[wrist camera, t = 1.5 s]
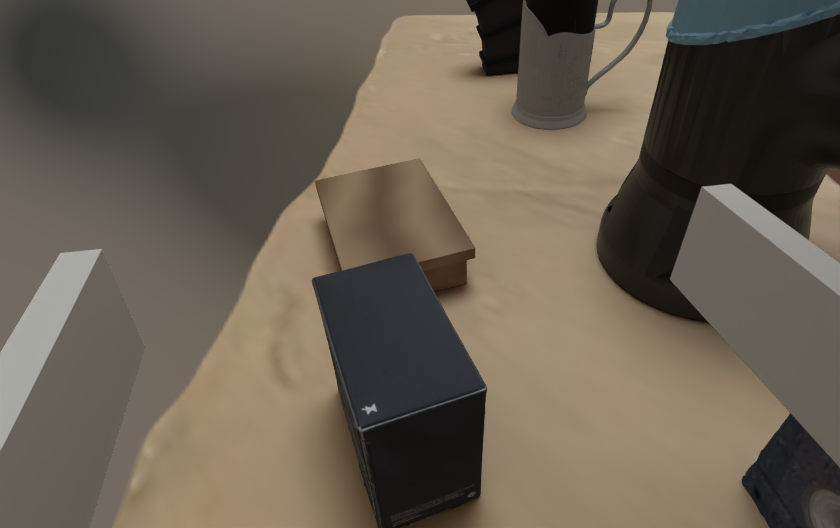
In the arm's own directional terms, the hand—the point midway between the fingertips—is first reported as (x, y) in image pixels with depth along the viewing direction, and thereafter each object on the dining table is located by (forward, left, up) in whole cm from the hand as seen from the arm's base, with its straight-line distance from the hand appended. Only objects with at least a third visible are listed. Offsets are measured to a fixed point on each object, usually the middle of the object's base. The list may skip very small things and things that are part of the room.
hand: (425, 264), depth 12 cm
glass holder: (-31, -44, -22) cm, 58 cm away
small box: (0, -9, -23) cm, 24 cm away
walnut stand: (-4, -27, -22) cm, 35 cm away
